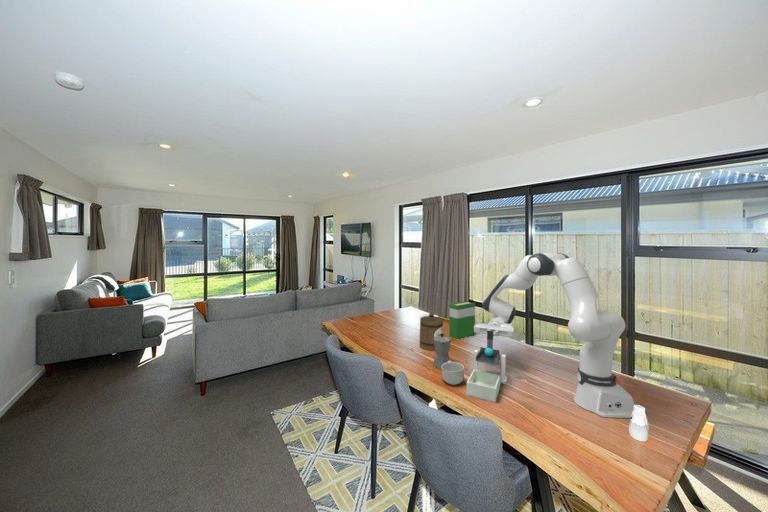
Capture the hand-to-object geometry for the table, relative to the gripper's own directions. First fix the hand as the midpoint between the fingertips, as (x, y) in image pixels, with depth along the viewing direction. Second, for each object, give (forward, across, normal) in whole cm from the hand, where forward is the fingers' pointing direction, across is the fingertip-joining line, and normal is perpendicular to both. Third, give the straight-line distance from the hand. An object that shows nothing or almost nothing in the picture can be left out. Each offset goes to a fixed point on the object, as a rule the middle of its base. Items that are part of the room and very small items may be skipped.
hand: (491, 334), depth 150 cm
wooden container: (-23, -41, +21) cm, 51 cm away
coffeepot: (+1, -26, +21) cm, 33 cm away
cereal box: (-52, -28, +21) cm, 63 cm away
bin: (+20, 0, +21) cm, 29 cm away
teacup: (+16, -16, +21) cm, 31 cm away
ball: (+7, 0, +7) cm, 10 cm away
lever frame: (+4, 0, +21) cm, 21 cm away
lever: (+8, 0, +14) cm, 16 cm away
